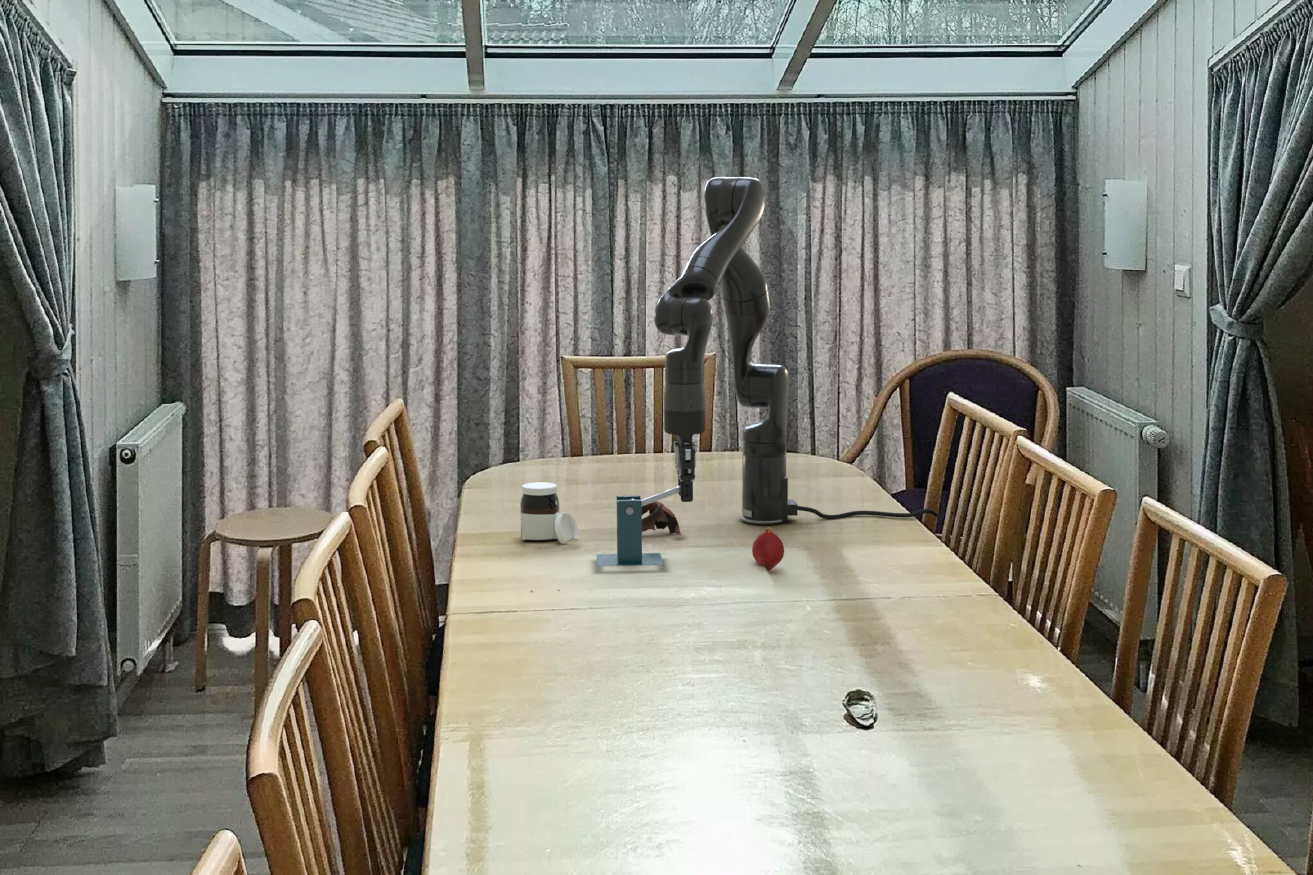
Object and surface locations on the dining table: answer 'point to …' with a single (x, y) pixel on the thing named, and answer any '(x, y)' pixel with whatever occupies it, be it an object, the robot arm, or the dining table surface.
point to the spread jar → (544, 515)
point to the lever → (660, 495)
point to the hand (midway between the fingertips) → (685, 498)
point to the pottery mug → (659, 518)
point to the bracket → (629, 537)
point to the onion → (768, 549)
